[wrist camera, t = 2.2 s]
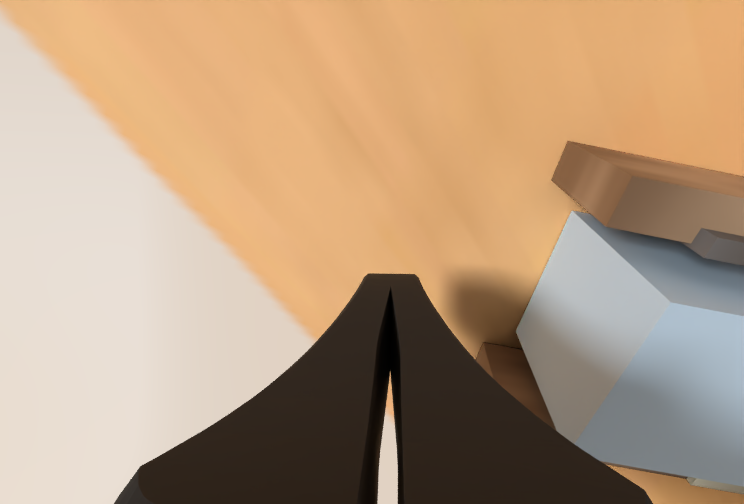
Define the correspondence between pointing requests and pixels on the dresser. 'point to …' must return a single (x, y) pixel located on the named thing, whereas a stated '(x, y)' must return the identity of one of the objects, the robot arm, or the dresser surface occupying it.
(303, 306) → the dresser surface
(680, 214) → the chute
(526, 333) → the slate block
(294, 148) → the dresser surface
